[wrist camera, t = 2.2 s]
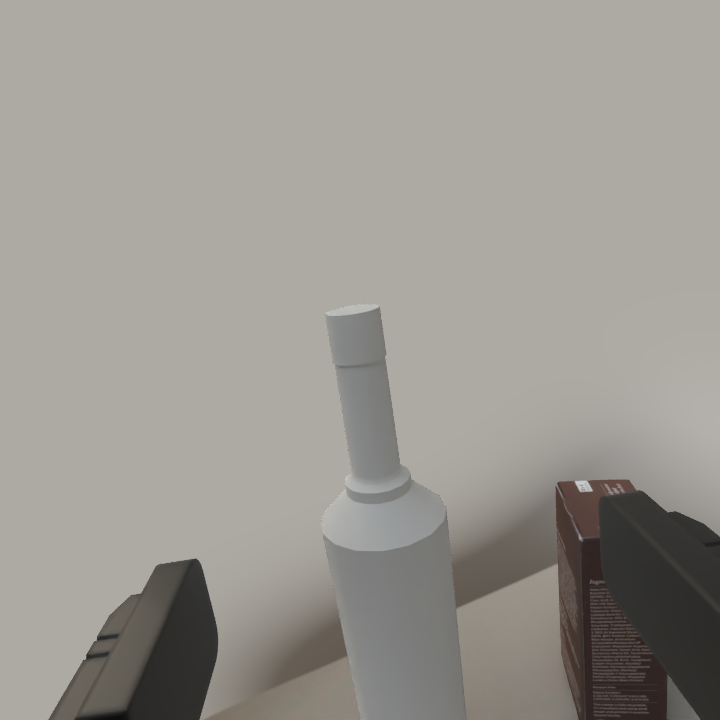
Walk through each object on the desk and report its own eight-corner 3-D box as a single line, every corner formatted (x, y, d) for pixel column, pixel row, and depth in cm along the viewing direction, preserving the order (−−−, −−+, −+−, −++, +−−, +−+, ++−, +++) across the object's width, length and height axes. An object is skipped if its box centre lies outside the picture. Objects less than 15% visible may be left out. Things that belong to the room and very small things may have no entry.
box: (674, 739, 29) (672, 534, 26) (583, 738, 29) (571, 539, 26) (635, 650, 34) (630, 474, 31) (559, 651, 35) (547, 480, 32)
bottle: (360, 794, 28) (270, 315, 22) (449, 751, 30) (388, 292, 24) (401, 905, 24) (302, 333, 17) (505, 846, 25) (447, 303, 19)
